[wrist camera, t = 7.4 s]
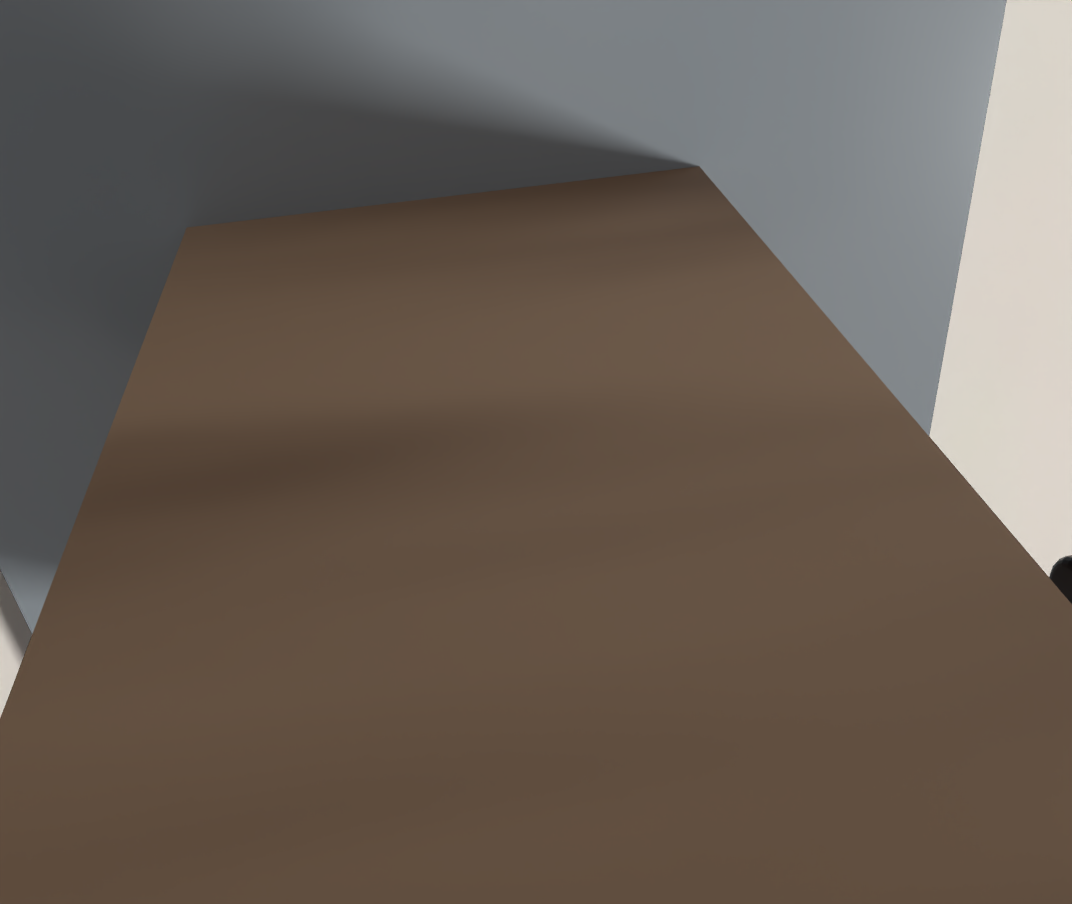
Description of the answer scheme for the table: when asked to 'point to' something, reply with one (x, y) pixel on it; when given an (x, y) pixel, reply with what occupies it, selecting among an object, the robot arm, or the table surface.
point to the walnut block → (529, 588)
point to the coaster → (453, 164)
